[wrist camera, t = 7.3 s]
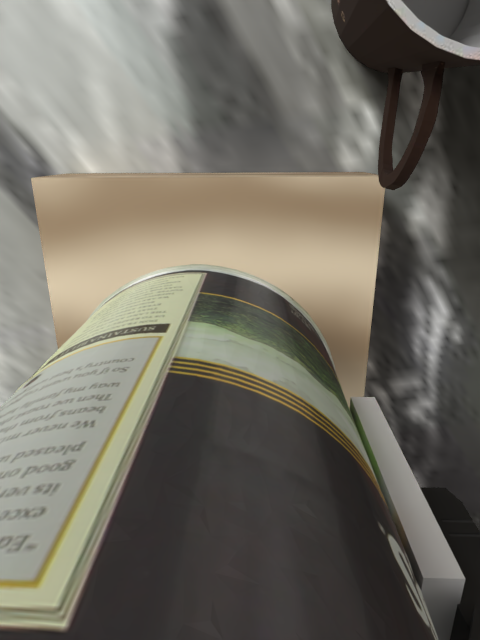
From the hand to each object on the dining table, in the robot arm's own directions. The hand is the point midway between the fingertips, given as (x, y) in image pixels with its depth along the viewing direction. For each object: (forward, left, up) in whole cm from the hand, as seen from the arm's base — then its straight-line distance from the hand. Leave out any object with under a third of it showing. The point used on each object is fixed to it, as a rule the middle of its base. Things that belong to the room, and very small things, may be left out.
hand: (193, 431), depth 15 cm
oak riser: (0, 0, -11) cm, 11 cm away
